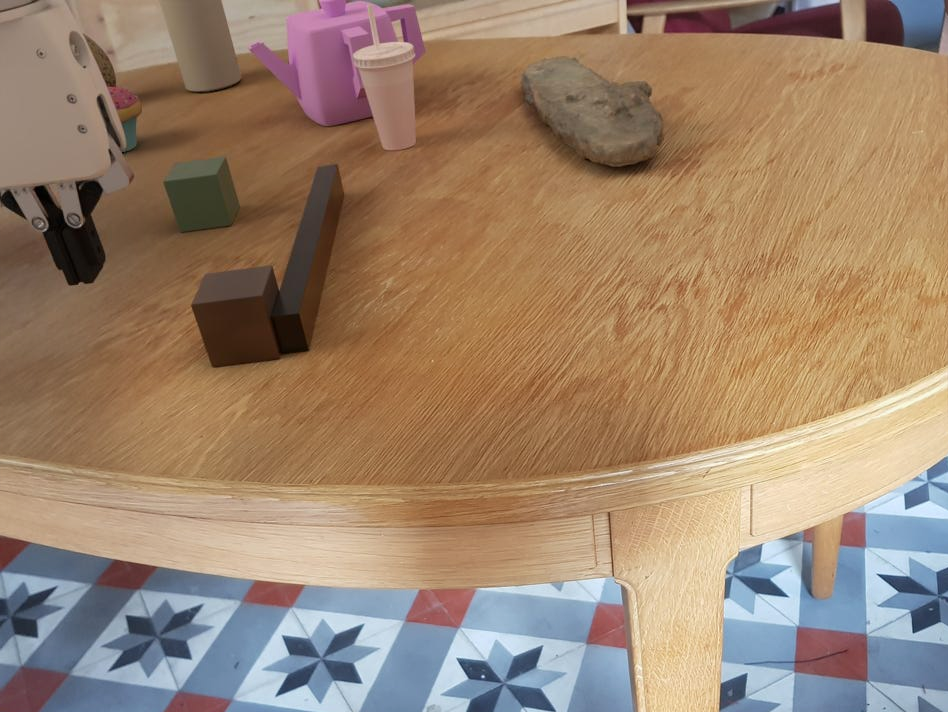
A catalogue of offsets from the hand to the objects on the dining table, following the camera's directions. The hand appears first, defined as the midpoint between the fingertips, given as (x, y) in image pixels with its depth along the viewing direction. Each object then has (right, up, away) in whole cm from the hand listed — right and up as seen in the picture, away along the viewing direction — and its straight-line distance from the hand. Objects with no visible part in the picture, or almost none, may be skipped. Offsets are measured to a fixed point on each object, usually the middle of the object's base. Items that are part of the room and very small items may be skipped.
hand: (87, 275), depth 66 cm
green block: (+2, +11, +25) cm, 28 cm away
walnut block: (+11, -5, +3) cm, 12 cm away
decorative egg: (-26, +38, +67) cm, 81 cm away
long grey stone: (+39, +24, +35) cm, 57 cm away
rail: (+14, +4, +14) cm, 20 cm away
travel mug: (-10, +42, +68) cm, 80 cm away
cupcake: (-16, +26, +49) cm, 57 cm away
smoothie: (+19, +22, +36) cm, 47 cm away
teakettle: (+11, +32, +51) cm, 61 cm away
